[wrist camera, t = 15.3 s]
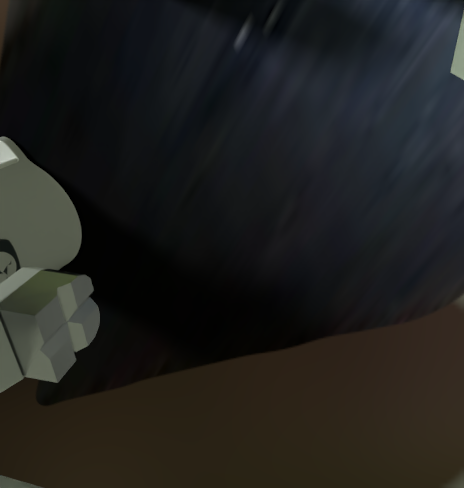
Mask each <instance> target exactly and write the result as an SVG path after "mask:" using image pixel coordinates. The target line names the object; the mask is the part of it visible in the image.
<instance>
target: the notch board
mask: <svg viewBox="0 0 464 488" xmlns="http://www.w3.org/2000/svg"><path fill="white" fill-rule="evenodd" d="M451 73H453V74H454V75H456V76H458V77H460V78H461V79H463V80H464V12H463V17H462V21H461V26H460V31H459V35H458V40H457V44H456V49H455V53H454V58H453V63H452V67H451Z"/></svg>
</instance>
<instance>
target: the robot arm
mask: <svg viewBox="0 0 464 488" xmlns="http://www.w3.org/2000/svg"><path fill="white" fill-rule="evenodd" d="M81 238H82V232H81V225H80V220H79V217H78V214H77V212H76V209H75V207H74V205H73V203H72V201H71V200H70V198H69V196H68V195H67V194H66V192H65V191H64V190H63V188H62V187H61V186H60V185H59V184H58V183H57V182H56V181H55V180H54V179H53V178H52V177H51V176H50V175H49V174H48V173H46V172H45V171H44V170H42V169H41V168H39V167H38V166H36V165H35V164H33V163H32V162H31V161H30V160H29V159H27V157H26V156H25V155H24V154H23V152H22V151H21V150H20V149H19V147H18V146H17V145H16V144H15V143H14V142H13V141H12V140H10V139H9V138H7V137H0V393H1V392H2V391H4V390H5V389H7V388H9V387H10V386H12V385H14V384H15V383H17V382H18V381H20V380H22V379H23V376H24V377H29V378H35V379H40V380H46V381H51V382H57V383H58V382H59V380H60V379H61V378H62V377H63V376H64V374H65V373H66V372H67V371H68V369H69V368H70V367H71V366H72V365H73V363H74V362H75V361H76V352H77V351H79V350H81V349H83V348H85V347H87V346H88V345H89V344H90V342H91V341H92V340H93V338H94V337H95V335H96V332H97V329H98V327H99V317H100V314H99V310H98V306H97V305H96V304H95V303H94V301H93V300H92V299H91V298H90V296H91V295H92V293H93V291H94V289H93V286H92V282H91V279H90V278H89V277H87V276H86V275H84V274H78V273H72V272H66V271H60V270H59V269H60V268H62V267H63V266H65V265H66V264H68V263H69V262H71V261H72V260H73V259H74V258H75V256H76V255H77V253H78V251H79V248H80V245H81ZM0 488H42V487H38V486H35V485H32V484H28V483H25V482H22V481H18V480H15V479H11V478H8V477H4V476H1V475H0Z"/></svg>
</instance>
